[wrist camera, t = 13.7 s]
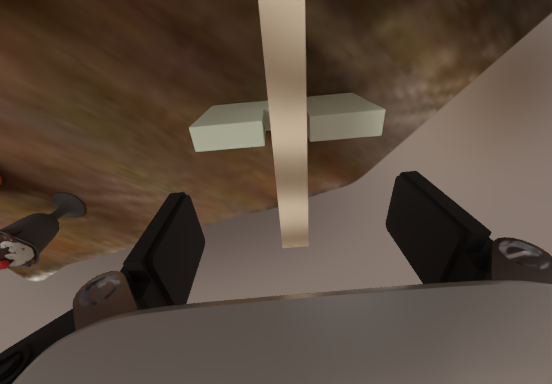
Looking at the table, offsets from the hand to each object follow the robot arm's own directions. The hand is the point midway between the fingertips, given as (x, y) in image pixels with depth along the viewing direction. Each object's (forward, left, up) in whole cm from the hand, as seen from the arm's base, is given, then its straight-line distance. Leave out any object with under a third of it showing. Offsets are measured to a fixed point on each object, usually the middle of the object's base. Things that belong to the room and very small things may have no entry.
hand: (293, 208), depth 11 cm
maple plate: (0, 0, -23) cm, 23 cm away
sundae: (+12, -36, -23) cm, 44 cm away
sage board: (0, 0, -23) cm, 23 cm away
